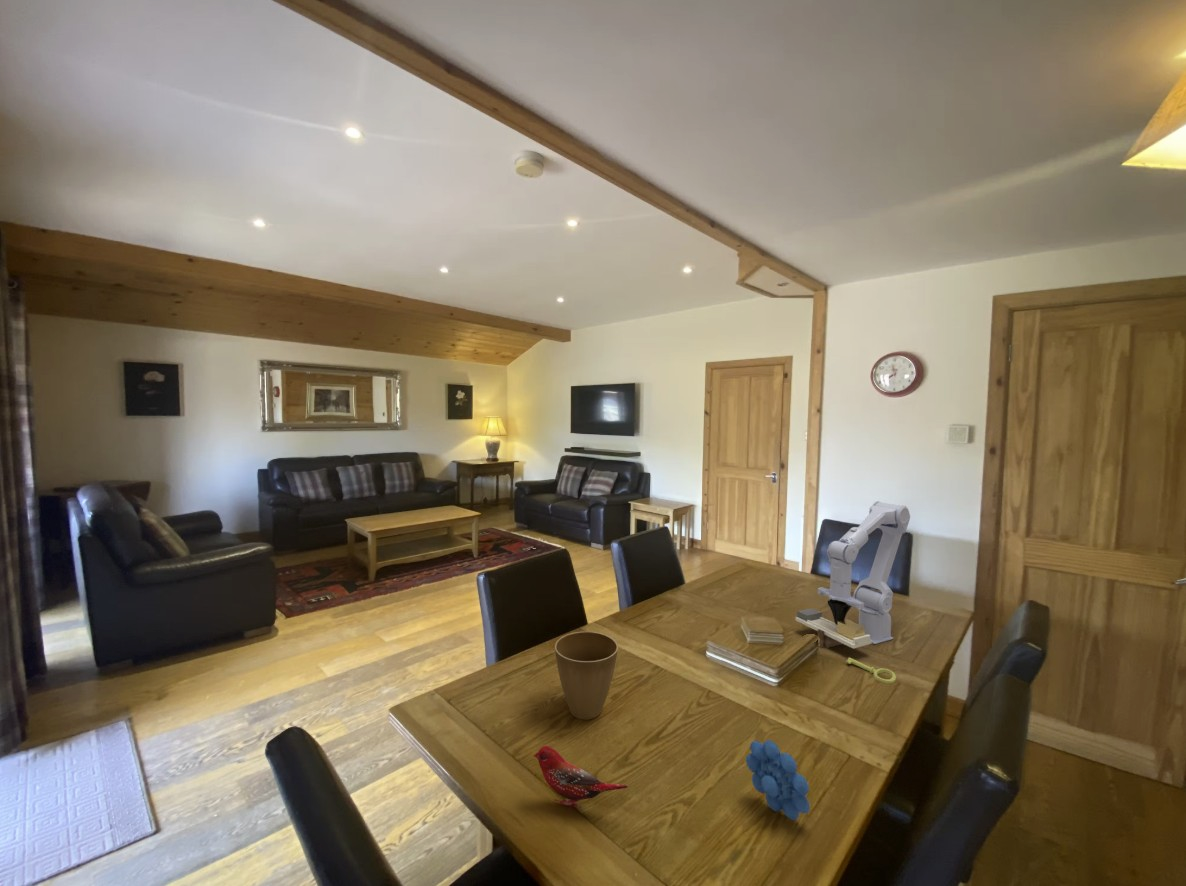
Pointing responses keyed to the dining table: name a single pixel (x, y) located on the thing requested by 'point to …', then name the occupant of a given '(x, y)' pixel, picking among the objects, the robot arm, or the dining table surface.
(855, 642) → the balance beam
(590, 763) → the dining table surface
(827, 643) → the fulcrum stand
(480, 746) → the dining table surface
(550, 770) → the decorative bird figurine
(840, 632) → the block
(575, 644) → the plant pot
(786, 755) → the blue flower
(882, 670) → the key
